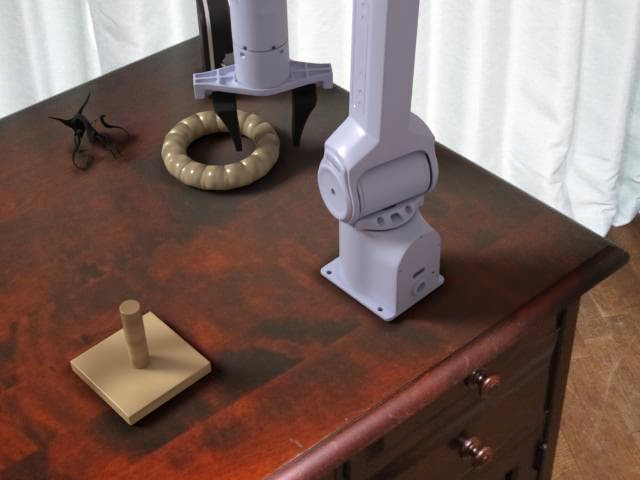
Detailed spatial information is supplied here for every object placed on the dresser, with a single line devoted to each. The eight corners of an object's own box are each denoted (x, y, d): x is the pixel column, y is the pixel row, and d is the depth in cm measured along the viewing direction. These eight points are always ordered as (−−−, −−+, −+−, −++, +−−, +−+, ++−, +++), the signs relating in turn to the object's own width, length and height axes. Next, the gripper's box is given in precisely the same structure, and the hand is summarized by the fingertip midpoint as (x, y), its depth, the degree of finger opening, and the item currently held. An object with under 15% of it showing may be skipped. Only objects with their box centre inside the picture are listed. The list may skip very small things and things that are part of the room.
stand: (211, 371, 104) (203, 307, 98) (130, 426, 99) (117, 362, 94) (151, 319, 108) (140, 256, 103) (71, 369, 104) (56, 306, 98)
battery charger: (241, 99, 135) (234, 14, 127) (208, 102, 134) (199, 17, 127) (234, 66, 140) (227, -18, 132) (202, 70, 139) (194, -14, 132)
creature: (144, 151, 130) (94, 113, 132) (145, 116, 126) (95, 79, 128) (92, 186, 125) (42, 146, 128) (92, 151, 121) (40, 111, 124)
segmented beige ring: (303, 158, 126) (303, 139, 125) (213, 211, 120) (211, 192, 118) (229, 109, 133) (227, 90, 132) (140, 157, 127) (137, 138, 125)
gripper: (326, 11, 120) (328, 116, 129) (188, 21, 119) (200, 127, 128) (334, 48, 115) (336, 155, 124) (189, 59, 114) (202, 166, 123)
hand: (267, 143), depth 126 cm, fingers open, 6 cm apart
